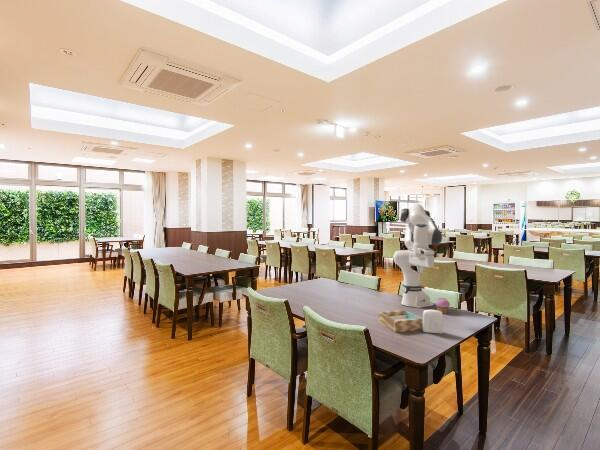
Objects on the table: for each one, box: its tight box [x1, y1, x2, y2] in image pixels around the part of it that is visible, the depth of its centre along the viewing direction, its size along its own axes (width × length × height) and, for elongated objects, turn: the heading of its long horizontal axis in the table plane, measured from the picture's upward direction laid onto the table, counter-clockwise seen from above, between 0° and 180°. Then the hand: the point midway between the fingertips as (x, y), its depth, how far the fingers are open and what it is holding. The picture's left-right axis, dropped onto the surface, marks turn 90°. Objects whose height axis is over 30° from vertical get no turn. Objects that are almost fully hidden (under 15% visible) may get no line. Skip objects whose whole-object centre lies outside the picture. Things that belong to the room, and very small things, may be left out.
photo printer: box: [422, 309, 444, 335], centre depth 173 cm, size 10×4×12 cm, turn 77°
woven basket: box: [377, 309, 423, 333], centre depth 184 cm, size 18×18×6 cm
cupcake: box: [434, 297, 451, 314], centre depth 208 cm, size 9×9×10 cm
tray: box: [389, 310, 422, 321], centre depth 184 cm, size 17×14×4 cm
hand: (420, 272), depth 194 cm, fingers closed
